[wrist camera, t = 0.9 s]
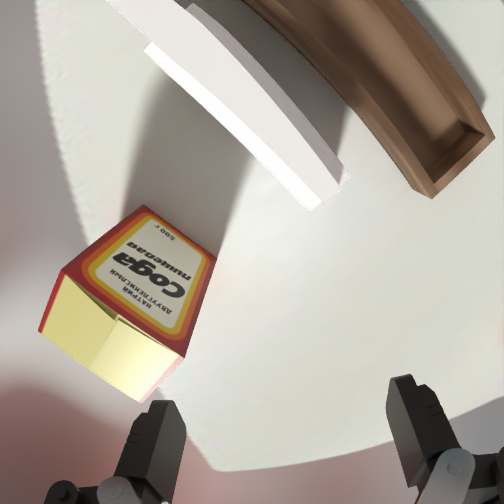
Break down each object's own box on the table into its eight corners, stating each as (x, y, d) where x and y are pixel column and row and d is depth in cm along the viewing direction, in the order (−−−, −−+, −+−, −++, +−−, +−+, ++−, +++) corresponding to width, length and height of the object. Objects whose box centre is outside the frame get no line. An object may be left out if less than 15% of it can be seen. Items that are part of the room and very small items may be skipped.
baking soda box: (217, 258, 34) (183, 361, 19) (183, 300, 36) (140, 407, 21) (143, 204, 32) (57, 272, 17) (115, 250, 34) (35, 333, 19)
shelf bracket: (302, 206, 31) (297, 225, 19) (151, 44, 30) (87, 2, 18) (345, 171, 30) (367, 168, 18) (187, 12, 28) (135, -43, 16)
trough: (252, -91, 19) (250, -112, 15) (472, 134, 27) (495, 137, 23) (180, -44, 21) (170, -62, 17) (413, 189, 30) (431, 199, 26)
